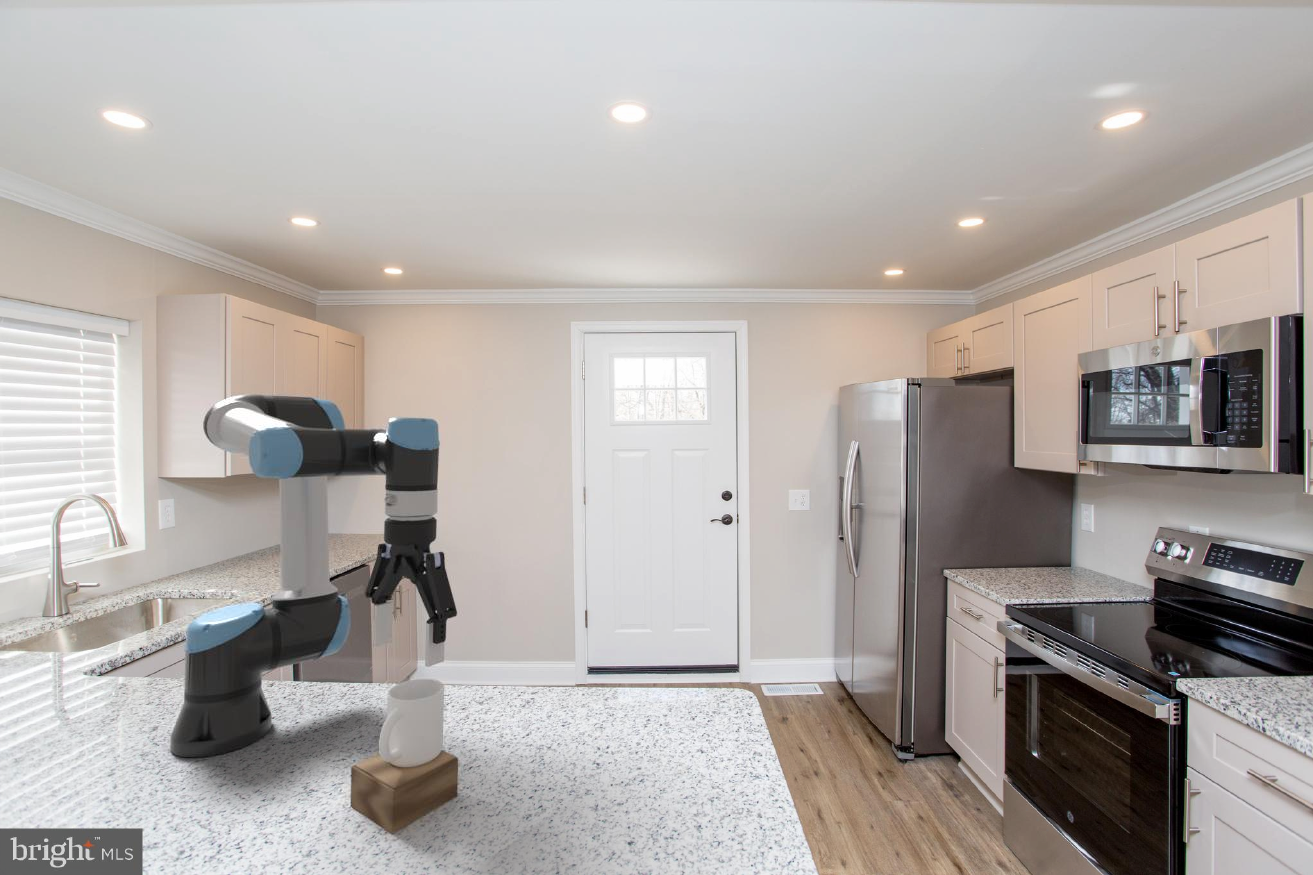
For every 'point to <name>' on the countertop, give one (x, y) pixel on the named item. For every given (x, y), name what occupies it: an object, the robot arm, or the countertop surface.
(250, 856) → the countertop surface
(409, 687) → the mug
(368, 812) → the walnut block
